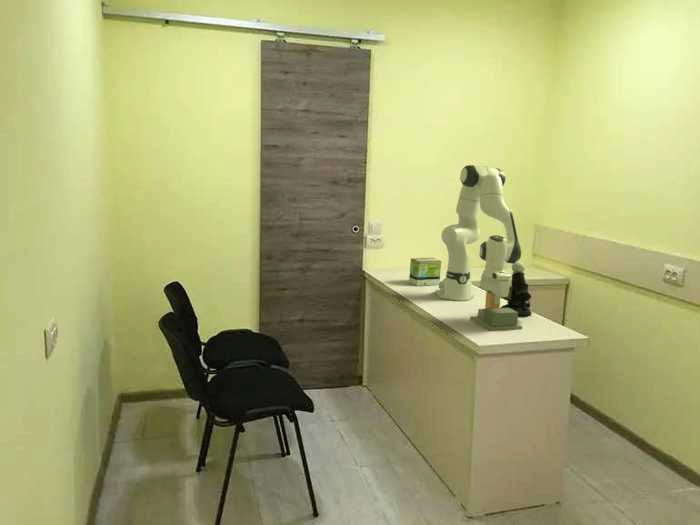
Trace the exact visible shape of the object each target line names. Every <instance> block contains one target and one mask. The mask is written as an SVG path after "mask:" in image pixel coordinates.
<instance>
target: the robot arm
mask: <svg viewBox="0 0 700 525" xmlns="http://www.w3.org/2000/svg"><path fill="white" fill-rule="evenodd" d="M459 178H460V183H461V184H462V185H461V189H460V192H459V195H458V200H457V204H456V208H455V211H456V213H457V214H456V215H458V223H455V224H450V225H448V226H446V227H444V228H443V229H442V232H441V241H442V242H443V243H444V245H445V246H446V249H447V253H448V254H447V255H448V263H447V270H446V273H445V277H444V278H443V279H442V280H441V281H440V282H439V285H438V288H439V289H435V290H434V291H435V292H434V293H435V294H436V295H437V296H438V298H439V299H443V300H444V299H445V300H451V301H460V302H461V301H469V300H471V299H473V298H474V295H473V294H472V292H473V291H472V289H473V288H472V287H473V286H472V285H473V284H472V281H471V272H470V270H471V269H470V268H471V255H469V253H468V251H467V245H471V244H474V243H475V242H477V241H478V240H480V238H481V229H480V227H479V225H478V223H479V222H478V216H479V215H478V214H479V210H481V212H482V213H483V214H485V215H486V216H488V217H489V218H493V219H495V220H498V221H499V222H501V223H502V224H503V225H504V228H505V234H506V237H504V236H501V235H496V234H495V235H490V236H488V240H485V241H484V242H482V243H481V244H480V245H479V257H480V259H481V260H483V262H485V266H484V270H483V272H482V273H481V276H480V281H479V282H480V283H479V287H480V288H481V289H482V290H484V291H486V292H488V290H489V291H491V292H492V293H493V294H495V299H494V300H493V303H494V304H498V300H499V299H500V300H501V298H508V296H509V293H510V280H511V279H512V278H511V276H512V275H511V274H510V272H508V271H507V269H506V264H512V265H513V264H514V263H516V262H519V260H521V258H522V249H521V245H520V242H519V238H518V234H517V228H516V223H515V218H514V215H513V211H512V209H511V208H510V207H508V206H507V204H506V202H505V198H504V197H505V196H504V185H505V182H506V174H505V171H504V170H502V169H500V168H498V167H497V168H495V167H491V166H485V165H484V166H483V165H473V164H468V165H465V166H464V167H463V168H462V170H461V172H460V177H459Z"/></svg>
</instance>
